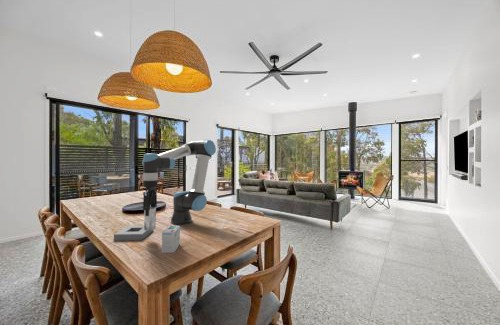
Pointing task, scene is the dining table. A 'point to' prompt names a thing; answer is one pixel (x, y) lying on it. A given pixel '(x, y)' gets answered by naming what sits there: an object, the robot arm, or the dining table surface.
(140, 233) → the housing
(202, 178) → the robot arm
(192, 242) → the dining table surface
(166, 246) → the light bulb box
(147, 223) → the end cap
